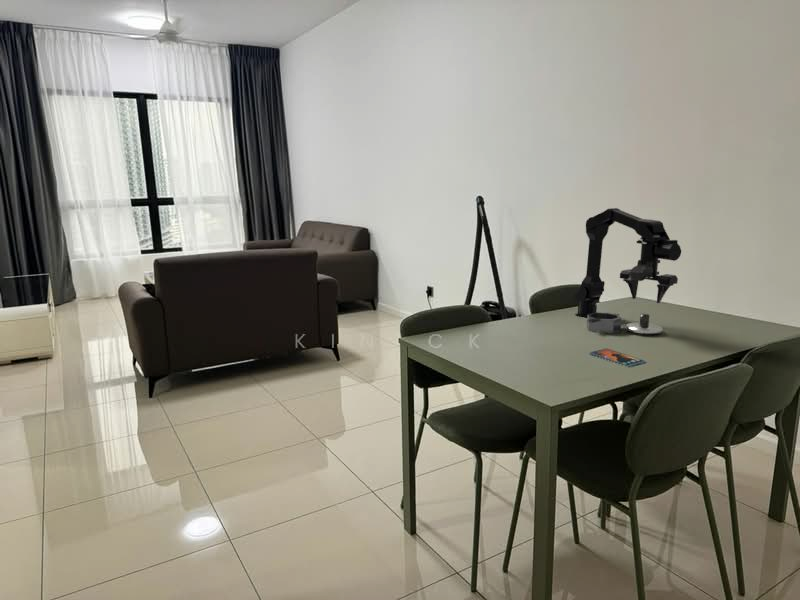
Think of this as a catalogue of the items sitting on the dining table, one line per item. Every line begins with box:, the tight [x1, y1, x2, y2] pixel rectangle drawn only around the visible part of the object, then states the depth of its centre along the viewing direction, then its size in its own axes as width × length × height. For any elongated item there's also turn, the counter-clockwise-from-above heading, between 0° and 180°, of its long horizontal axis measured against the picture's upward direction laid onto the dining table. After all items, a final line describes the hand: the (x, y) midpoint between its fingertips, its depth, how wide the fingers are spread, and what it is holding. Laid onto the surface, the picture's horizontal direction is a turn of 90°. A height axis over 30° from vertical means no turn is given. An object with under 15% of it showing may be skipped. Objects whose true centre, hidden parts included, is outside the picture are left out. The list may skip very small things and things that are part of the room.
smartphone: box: [589, 347, 647, 368], centre depth 173 cm, size 8×1×15 cm
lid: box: [625, 313, 663, 336], centre depth 201 cm, size 12×12×6 cm
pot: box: [586, 312, 622, 334], centre depth 205 cm, size 11×16×5 cm
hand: (646, 300), depth 199 cm, fingers open, 9 cm apart
